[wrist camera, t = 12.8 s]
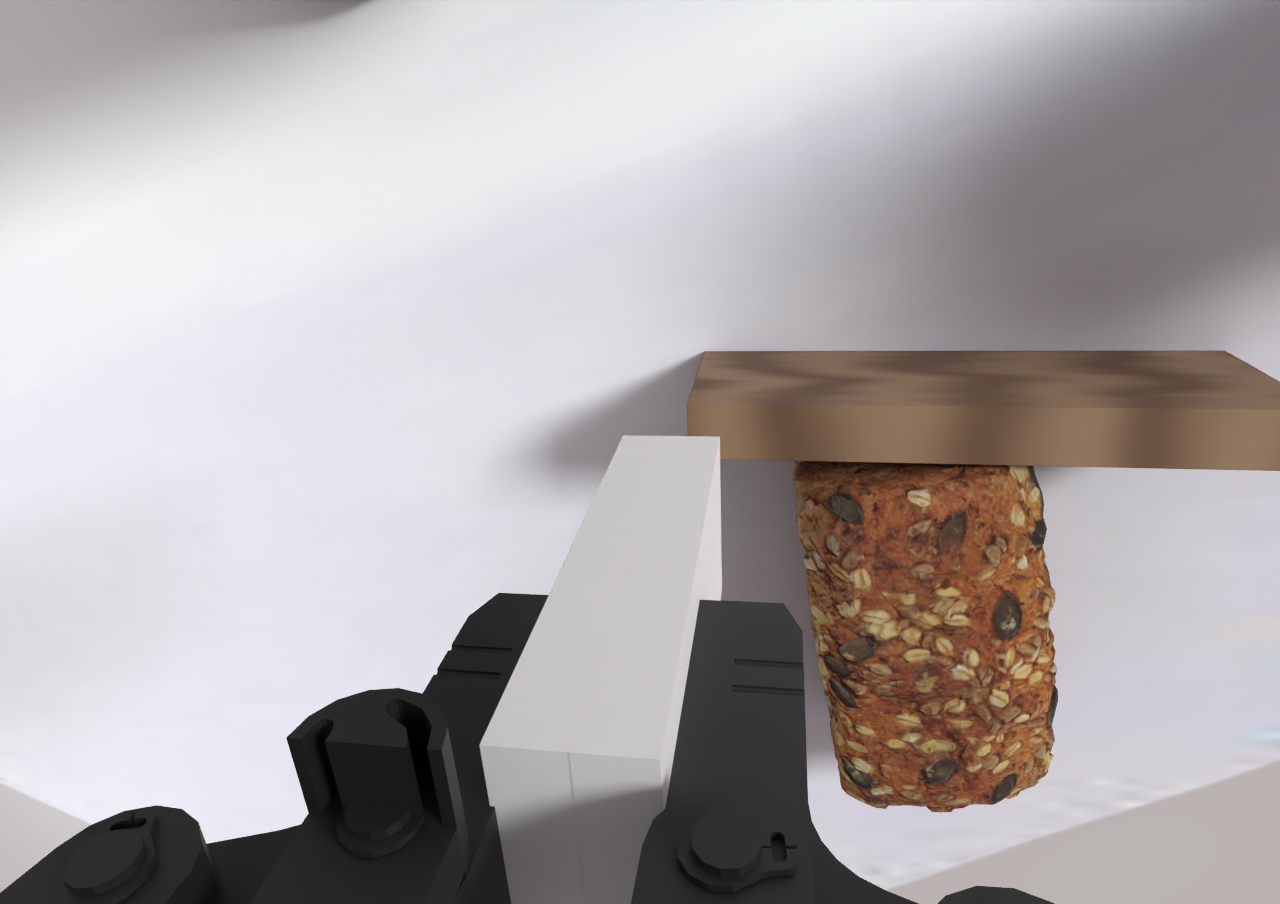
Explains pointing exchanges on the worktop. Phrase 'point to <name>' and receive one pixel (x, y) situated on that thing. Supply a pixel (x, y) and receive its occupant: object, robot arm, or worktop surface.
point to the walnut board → (991, 408)
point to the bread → (931, 627)
